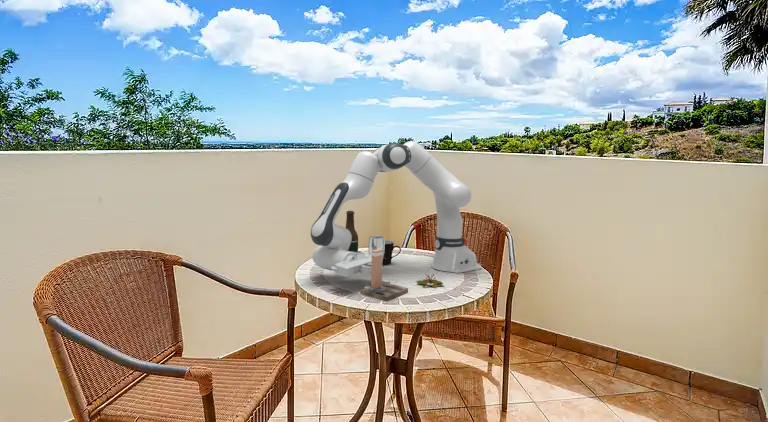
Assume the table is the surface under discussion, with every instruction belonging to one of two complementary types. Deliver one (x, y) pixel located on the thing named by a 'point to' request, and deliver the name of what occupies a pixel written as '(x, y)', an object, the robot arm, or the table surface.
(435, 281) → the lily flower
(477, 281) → the table surface
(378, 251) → the terracotta paddle
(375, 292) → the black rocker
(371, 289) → the walnut control box
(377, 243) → the beer glass
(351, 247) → the beer bottle
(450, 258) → the robot arm
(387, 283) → the grey fader knob
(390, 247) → the coffee mug
